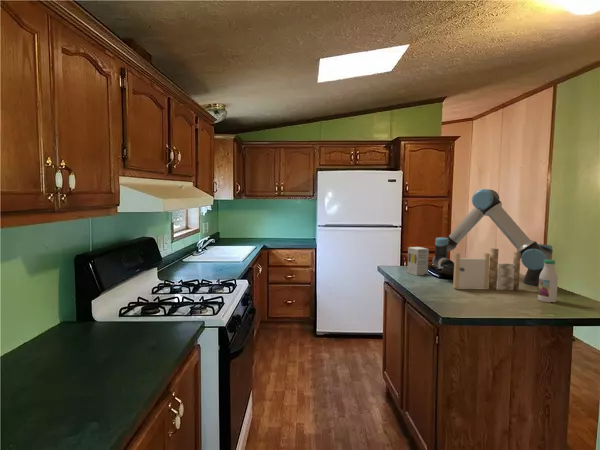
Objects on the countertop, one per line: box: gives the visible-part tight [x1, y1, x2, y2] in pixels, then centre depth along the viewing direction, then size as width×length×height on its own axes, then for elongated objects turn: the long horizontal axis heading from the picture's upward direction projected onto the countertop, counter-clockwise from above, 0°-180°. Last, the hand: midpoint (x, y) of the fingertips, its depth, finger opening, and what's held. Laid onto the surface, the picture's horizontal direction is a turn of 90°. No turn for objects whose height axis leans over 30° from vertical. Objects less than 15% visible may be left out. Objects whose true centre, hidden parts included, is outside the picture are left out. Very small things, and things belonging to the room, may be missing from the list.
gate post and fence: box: [488, 248, 521, 291], centre depth 216 cm, size 16×4×22 cm, turn 91°
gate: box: [452, 252, 490, 290], centre depth 215 cm, size 18×4×19 cm, turn 91°
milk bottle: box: [537, 259, 559, 303], centre depth 194 cm, size 8×8×20 cm
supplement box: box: [406, 246, 430, 276], centre depth 256 cm, size 10×9×17 cm
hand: (462, 272), depth 222 cm, fingers closed
